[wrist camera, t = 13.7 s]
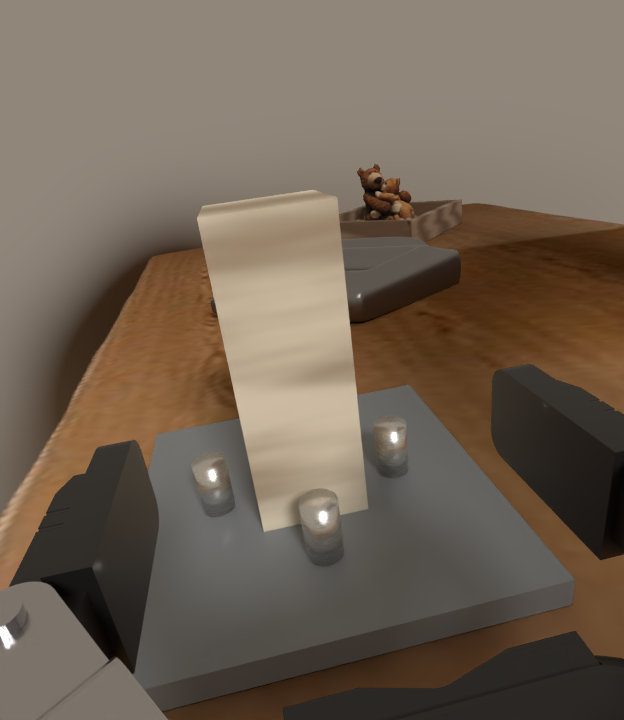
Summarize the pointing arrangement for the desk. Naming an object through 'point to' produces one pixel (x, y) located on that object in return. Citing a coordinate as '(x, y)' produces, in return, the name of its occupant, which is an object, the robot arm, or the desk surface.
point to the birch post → (288, 347)
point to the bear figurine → (384, 197)
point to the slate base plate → (329, 558)
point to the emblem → (392, 274)
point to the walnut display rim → (404, 222)
